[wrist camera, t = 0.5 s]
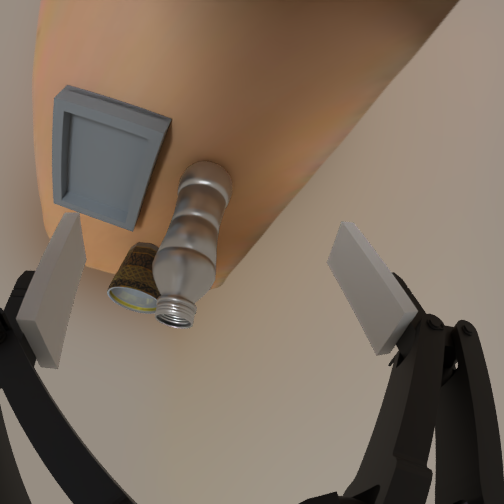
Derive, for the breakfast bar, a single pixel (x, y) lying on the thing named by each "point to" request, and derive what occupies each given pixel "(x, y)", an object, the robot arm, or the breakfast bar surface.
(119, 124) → the tray
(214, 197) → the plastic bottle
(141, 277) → the ceramic cup
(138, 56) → the breakfast bar surface
